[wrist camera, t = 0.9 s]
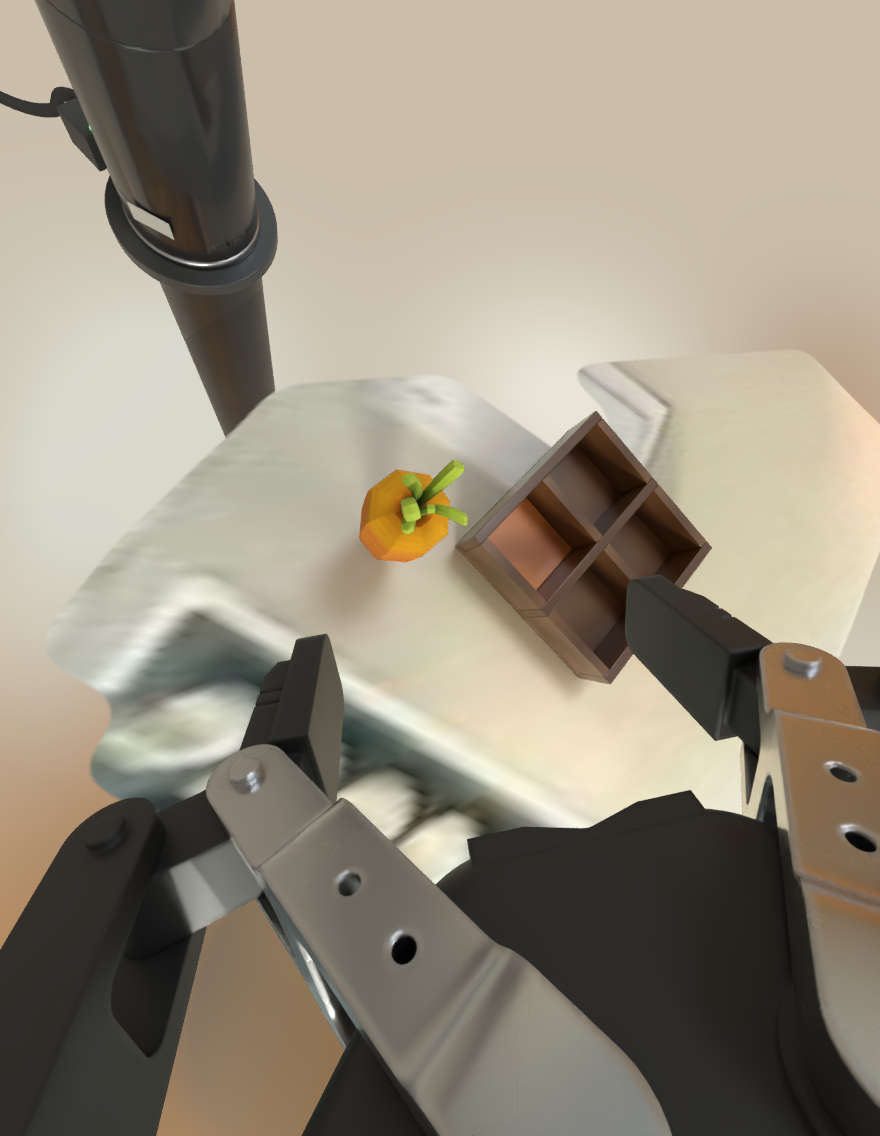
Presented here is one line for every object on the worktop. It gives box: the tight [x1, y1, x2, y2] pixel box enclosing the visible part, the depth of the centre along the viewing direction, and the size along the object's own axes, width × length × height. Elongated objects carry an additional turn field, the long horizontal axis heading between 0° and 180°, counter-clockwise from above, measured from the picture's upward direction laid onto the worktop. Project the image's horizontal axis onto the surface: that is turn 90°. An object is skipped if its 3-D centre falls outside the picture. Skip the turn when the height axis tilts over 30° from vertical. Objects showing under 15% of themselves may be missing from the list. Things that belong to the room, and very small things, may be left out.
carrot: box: [359, 460, 468, 562], centre depth 28 cm, size 5×5×15 cm
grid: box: [456, 411, 712, 684], centre depth 38 cm, size 15×15×4 cm
